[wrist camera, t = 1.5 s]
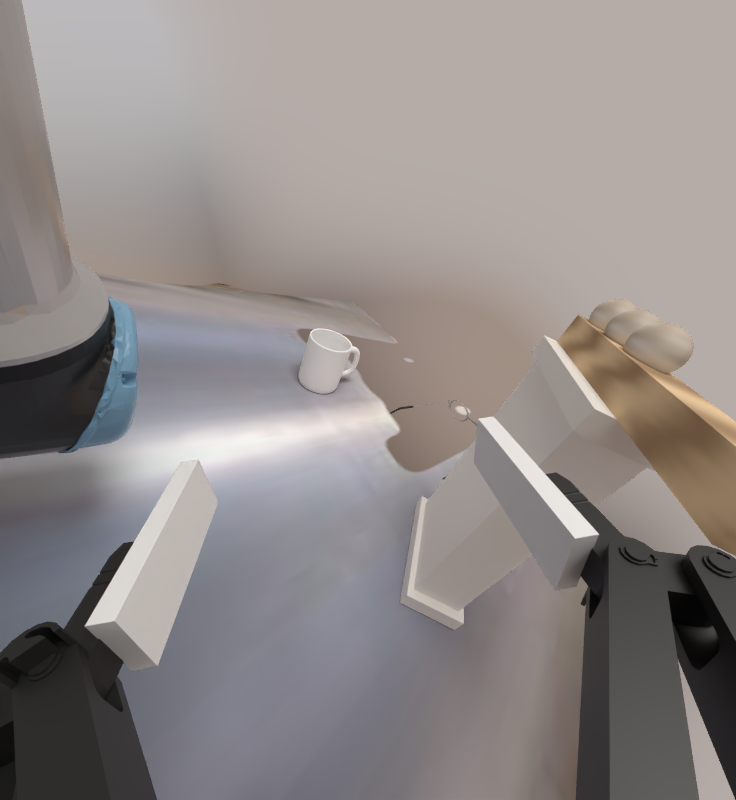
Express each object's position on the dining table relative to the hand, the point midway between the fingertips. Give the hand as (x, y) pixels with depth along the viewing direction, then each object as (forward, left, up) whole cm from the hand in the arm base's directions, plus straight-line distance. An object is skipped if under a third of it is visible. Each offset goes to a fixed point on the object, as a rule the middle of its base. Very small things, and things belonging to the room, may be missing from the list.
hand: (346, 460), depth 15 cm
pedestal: (+4, +23, -25) cm, 34 cm away
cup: (-34, +29, -26) cm, 52 cm away
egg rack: (+6, +19, +5) cm, 21 cm away
